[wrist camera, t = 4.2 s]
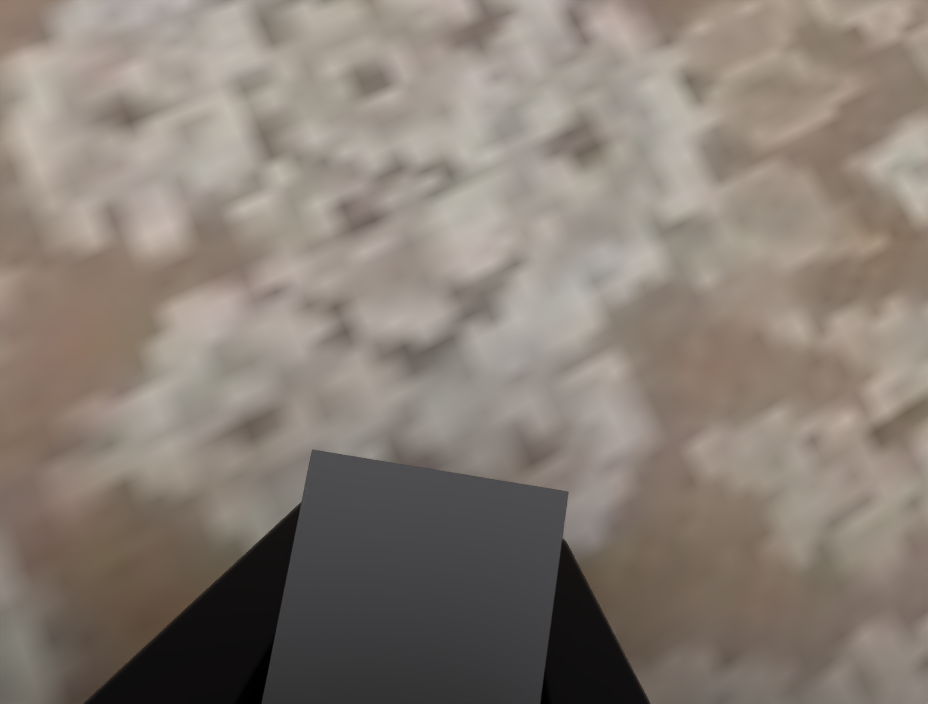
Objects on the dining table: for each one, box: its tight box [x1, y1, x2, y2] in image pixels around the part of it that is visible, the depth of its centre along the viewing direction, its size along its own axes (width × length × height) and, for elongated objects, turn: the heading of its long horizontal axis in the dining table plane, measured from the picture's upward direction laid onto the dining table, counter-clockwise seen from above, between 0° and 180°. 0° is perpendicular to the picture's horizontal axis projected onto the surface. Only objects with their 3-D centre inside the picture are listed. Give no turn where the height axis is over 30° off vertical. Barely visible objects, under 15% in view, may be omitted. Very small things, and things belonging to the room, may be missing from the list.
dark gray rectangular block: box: [262, 450, 568, 704], centre depth 11 cm, size 2×4×10 cm, turn 171°
